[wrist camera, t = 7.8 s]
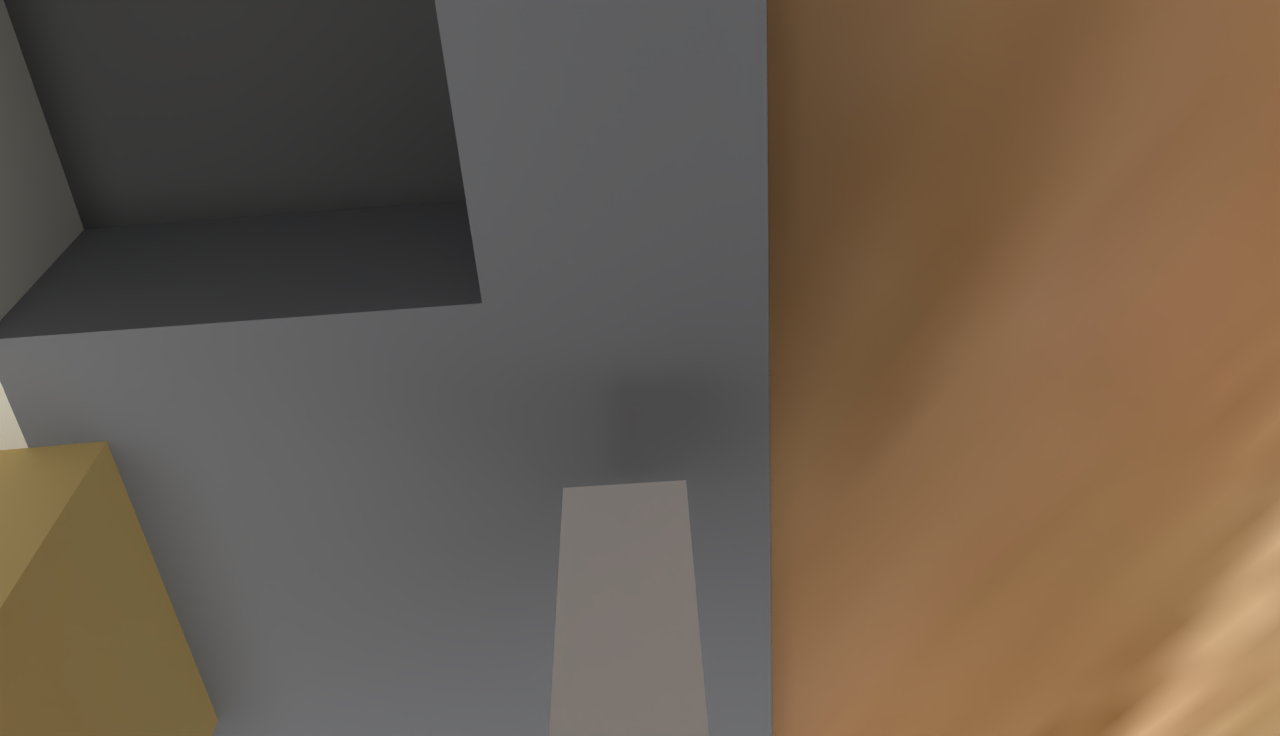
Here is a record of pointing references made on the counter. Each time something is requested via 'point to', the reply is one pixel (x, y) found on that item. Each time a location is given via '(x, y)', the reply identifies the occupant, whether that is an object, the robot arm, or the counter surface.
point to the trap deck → (396, 326)
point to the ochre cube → (86, 607)
